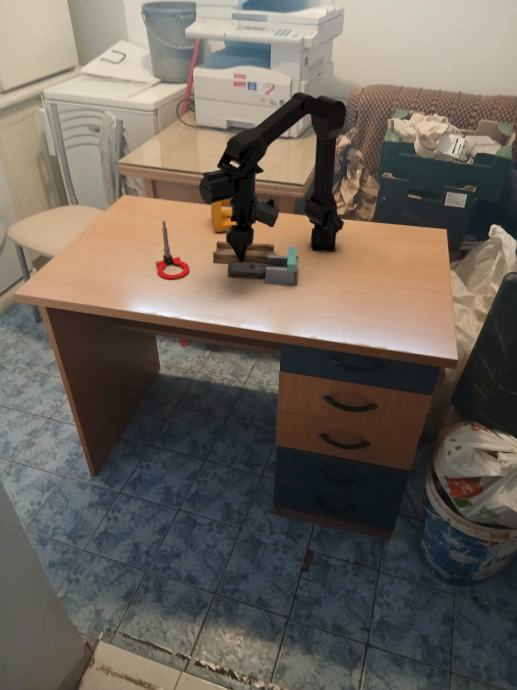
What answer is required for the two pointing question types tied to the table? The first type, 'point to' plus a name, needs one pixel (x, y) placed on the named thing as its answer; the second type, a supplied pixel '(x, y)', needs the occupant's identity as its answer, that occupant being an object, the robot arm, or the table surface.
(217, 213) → the bracket
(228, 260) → the rail
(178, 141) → the table surface
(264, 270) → the rod
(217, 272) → the table surface
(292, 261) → the teal rectangular block
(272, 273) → the socket
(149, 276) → the table surface
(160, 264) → the tow hook
